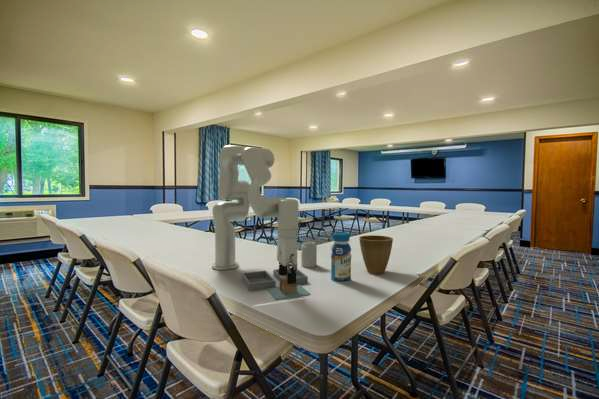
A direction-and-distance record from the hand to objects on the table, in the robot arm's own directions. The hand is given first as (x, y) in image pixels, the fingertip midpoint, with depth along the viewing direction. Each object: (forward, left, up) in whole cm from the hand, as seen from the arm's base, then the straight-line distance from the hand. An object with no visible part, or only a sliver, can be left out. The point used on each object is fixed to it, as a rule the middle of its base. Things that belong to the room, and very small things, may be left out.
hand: (287, 279), depth 104 cm
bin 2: (-13, +6, -5) cm, 15 cm away
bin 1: (-13, -8, -5) cm, 16 cm away
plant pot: (-9, +46, -5) cm, 47 cm away
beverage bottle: (-5, +25, -5) cm, 26 cm away
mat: (+1, 0, -5) cm, 5 cm away
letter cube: (0, 0, -4) cm, 4 cm away
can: (-28, +21, -5) cm, 36 cm away
